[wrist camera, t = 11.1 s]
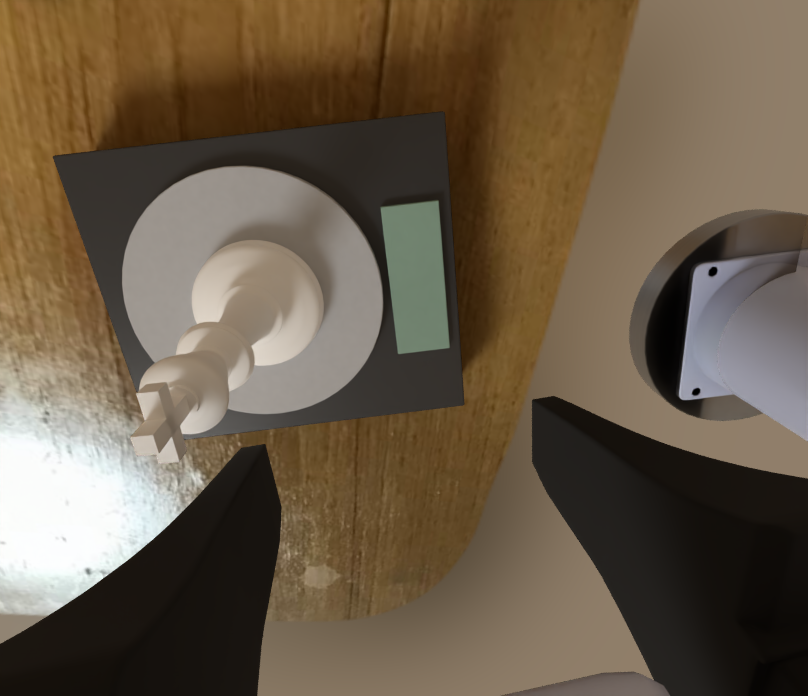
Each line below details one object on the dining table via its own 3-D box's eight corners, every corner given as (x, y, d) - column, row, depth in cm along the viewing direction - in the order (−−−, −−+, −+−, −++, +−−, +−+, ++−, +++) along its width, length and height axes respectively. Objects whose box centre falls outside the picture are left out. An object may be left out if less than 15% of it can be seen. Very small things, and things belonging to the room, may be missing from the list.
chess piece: (211, 366, 19) (60, 555, 10) (181, 245, 17) (-39, 339, 8) (331, 355, 19) (292, 531, 10) (313, 233, 18) (246, 312, 8)
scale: (436, 117, 19) (446, 109, 16) (455, 381, 24) (466, 411, 21) (91, 156, 19) (41, 155, 16) (176, 416, 23) (149, 450, 21)
